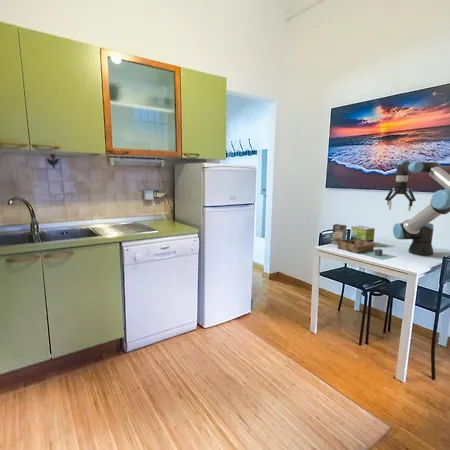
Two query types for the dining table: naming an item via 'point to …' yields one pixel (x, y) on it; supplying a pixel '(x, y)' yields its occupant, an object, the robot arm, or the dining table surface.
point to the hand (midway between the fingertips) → (398, 210)
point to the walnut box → (355, 245)
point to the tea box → (362, 233)
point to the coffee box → (338, 233)
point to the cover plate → (384, 256)
